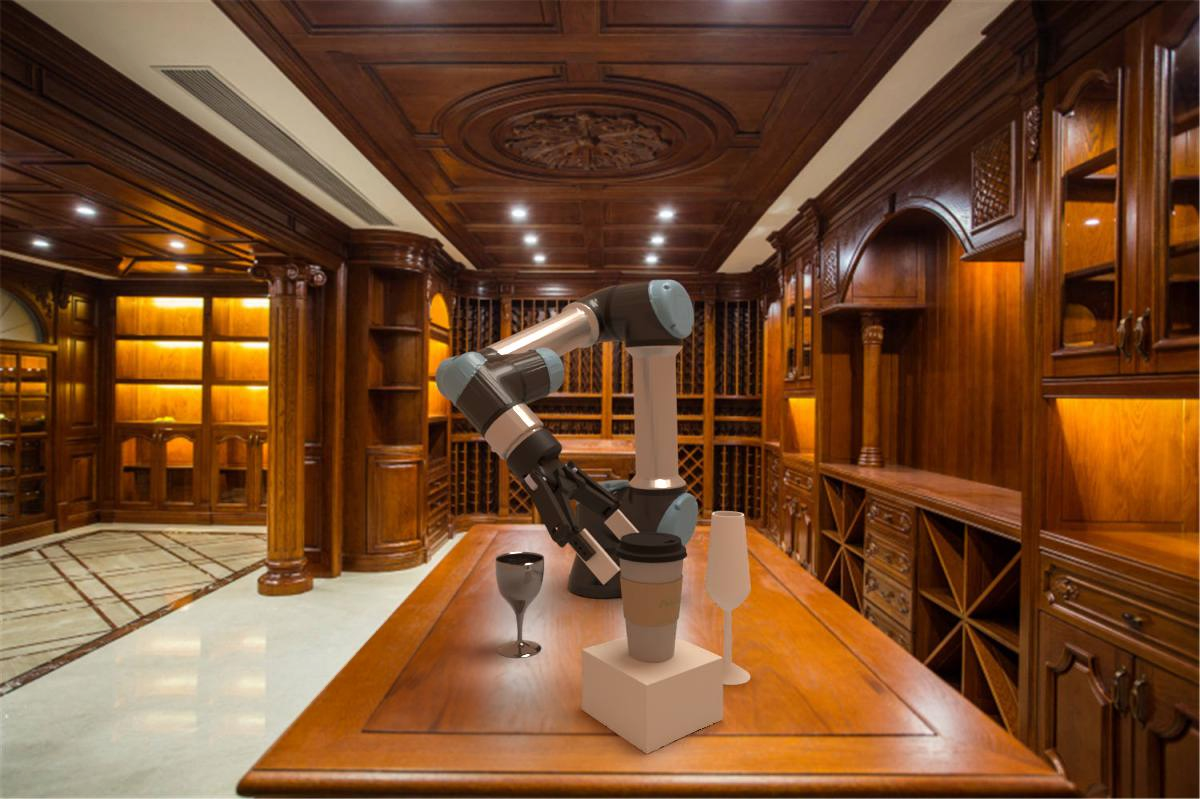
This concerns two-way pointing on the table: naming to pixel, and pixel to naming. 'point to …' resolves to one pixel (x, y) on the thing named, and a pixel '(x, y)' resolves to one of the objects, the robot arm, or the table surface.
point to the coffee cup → (651, 592)
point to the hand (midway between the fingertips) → (628, 563)
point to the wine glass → (519, 594)
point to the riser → (652, 692)
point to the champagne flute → (728, 579)
